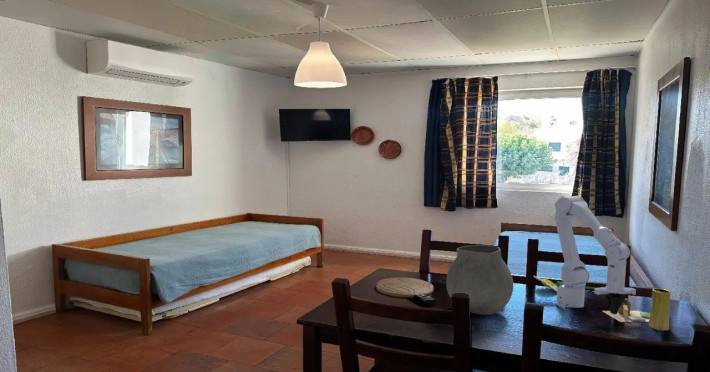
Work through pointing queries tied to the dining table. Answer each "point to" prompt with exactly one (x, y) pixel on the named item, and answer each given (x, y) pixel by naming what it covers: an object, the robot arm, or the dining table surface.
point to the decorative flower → (554, 284)
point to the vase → (660, 309)
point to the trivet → (404, 287)
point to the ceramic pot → (481, 278)
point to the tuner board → (631, 316)
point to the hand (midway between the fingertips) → (613, 313)
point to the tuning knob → (625, 307)
